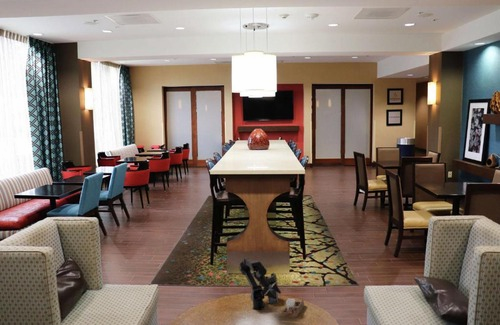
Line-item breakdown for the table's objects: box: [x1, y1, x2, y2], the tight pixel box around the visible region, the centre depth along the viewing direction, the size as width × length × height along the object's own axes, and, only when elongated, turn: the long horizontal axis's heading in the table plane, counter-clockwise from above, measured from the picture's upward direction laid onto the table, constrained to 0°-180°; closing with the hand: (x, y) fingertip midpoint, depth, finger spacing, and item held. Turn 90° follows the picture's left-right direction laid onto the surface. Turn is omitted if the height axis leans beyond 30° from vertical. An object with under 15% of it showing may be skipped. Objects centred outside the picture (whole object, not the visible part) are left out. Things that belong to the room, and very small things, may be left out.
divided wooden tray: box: [281, 299, 305, 318], centre depth 294 cm, size 10×19×5 cm, turn 159°
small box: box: [267, 287, 279, 305], centre depth 315 cm, size 11×6×10 cm, turn 174°
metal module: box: [285, 297, 296, 313], centre depth 290 cm, size 4×4×9 cm
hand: (278, 295), depth 295 cm, fingers open, 9 cm apart
